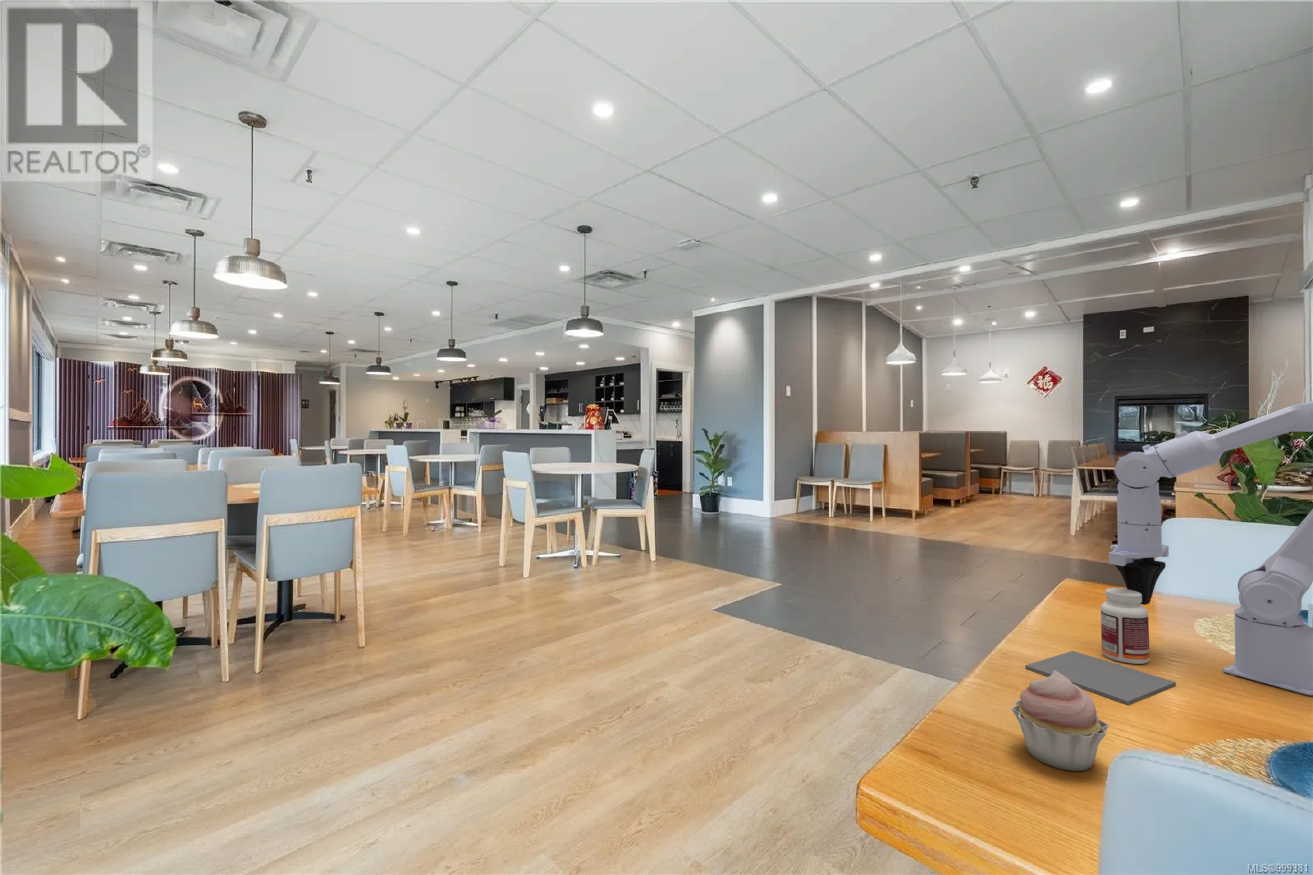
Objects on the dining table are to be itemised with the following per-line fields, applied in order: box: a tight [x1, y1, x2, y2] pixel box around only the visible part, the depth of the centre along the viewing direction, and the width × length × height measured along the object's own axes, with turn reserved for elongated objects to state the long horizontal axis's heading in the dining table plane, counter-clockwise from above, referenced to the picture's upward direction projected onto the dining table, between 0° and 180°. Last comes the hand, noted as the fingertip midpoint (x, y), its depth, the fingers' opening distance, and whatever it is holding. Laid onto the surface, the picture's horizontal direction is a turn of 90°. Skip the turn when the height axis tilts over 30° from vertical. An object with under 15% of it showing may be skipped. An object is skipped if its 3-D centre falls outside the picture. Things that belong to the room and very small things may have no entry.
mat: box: [1024, 650, 1177, 706], centre depth 88 cm, size 14×13×1 cm
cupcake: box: [1010, 670, 1110, 772], centre depth 67 cm, size 9×9×10 cm
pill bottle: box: [1100, 587, 1151, 665], centre depth 95 cm, size 6×6×11 cm
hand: (1140, 602), depth 97 cm, fingers closed
